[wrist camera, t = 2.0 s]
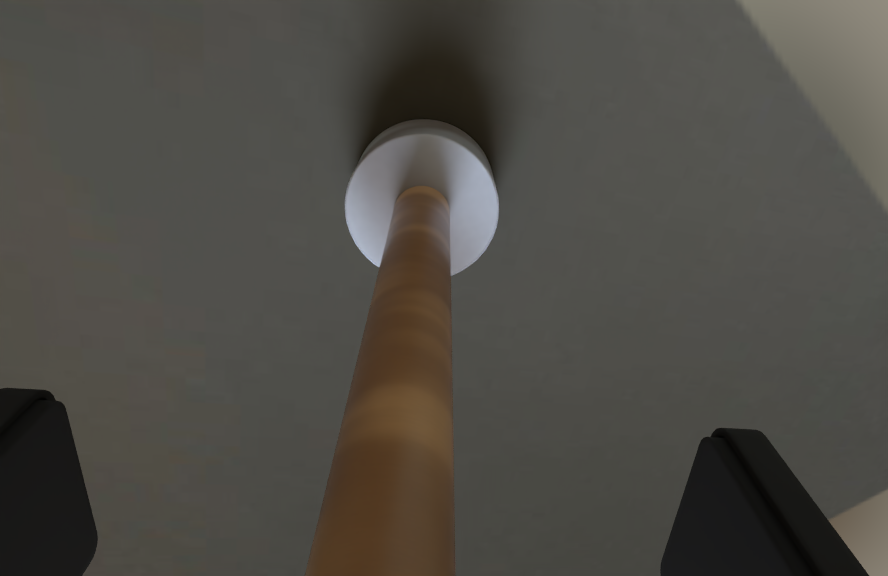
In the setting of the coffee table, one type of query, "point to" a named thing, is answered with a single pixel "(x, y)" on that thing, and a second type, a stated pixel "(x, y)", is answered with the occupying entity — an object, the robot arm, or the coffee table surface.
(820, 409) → the coffee table surface
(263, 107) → the coffee table surface
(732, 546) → the robot arm
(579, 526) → the coffee table surface
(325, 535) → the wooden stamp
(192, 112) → the coffee table surface
